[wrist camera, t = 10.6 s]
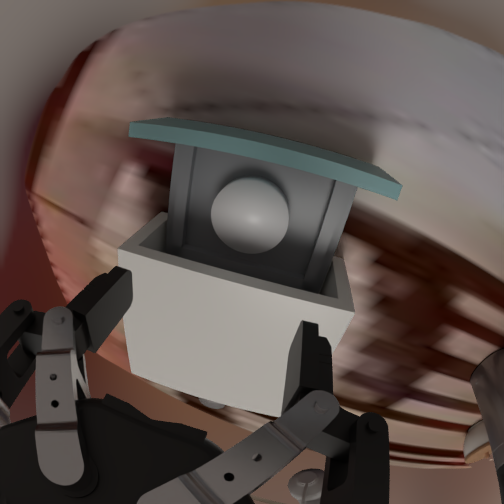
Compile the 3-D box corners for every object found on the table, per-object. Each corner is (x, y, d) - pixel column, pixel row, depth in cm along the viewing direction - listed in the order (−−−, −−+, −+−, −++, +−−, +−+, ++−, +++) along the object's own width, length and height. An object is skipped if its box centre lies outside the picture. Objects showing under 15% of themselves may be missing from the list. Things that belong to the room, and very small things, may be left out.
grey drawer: (378, 166, 21) (402, 185, 15) (320, 316, 28) (322, 360, 23) (168, 117, 21) (130, 122, 16) (155, 271, 29) (127, 305, 24)
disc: (297, 185, 22) (297, 191, 20) (279, 252, 25) (278, 261, 23) (222, 168, 22) (217, 172, 21) (212, 235, 25) (206, 243, 24)
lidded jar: (506, 409, 35) (516, 441, 27) (479, 434, 40) (486, 464, 32) (478, 414, 36) (488, 450, 28) (450, 439, 41) (457, 472, 33)
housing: (343, 258, 26) (355, 312, 19) (295, 365, 34) (290, 419, 27) (161, 211, 27) (117, 248, 20) (158, 327, 35) (131, 372, 28)
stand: (231, 379, 37) (226, 399, 34) (228, 392, 39) (222, 411, 36) (206, 372, 37) (200, 391, 34) (204, 385, 39) (198, 404, 36)
